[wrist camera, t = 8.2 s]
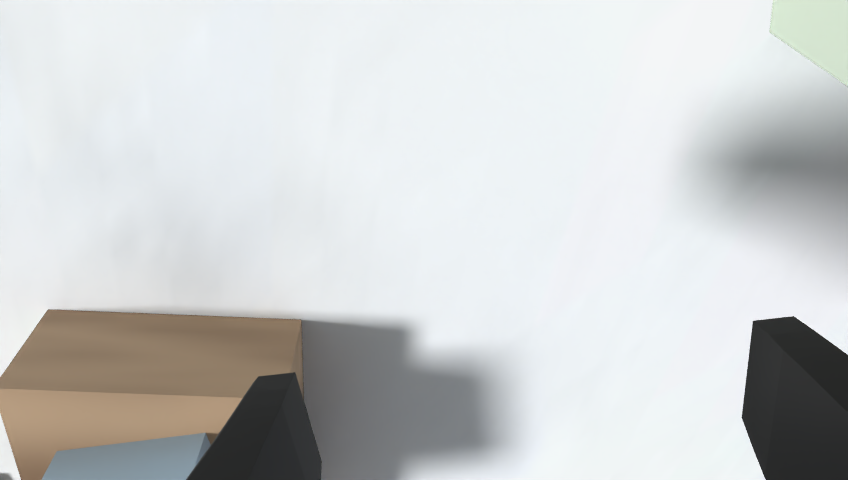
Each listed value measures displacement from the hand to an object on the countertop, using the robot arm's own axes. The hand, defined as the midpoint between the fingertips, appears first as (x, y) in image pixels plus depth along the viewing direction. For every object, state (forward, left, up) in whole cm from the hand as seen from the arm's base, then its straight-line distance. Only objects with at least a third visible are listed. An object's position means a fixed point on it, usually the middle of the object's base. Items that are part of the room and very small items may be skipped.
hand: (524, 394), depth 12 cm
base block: (-9, +11, -11) cm, 18 cm away
